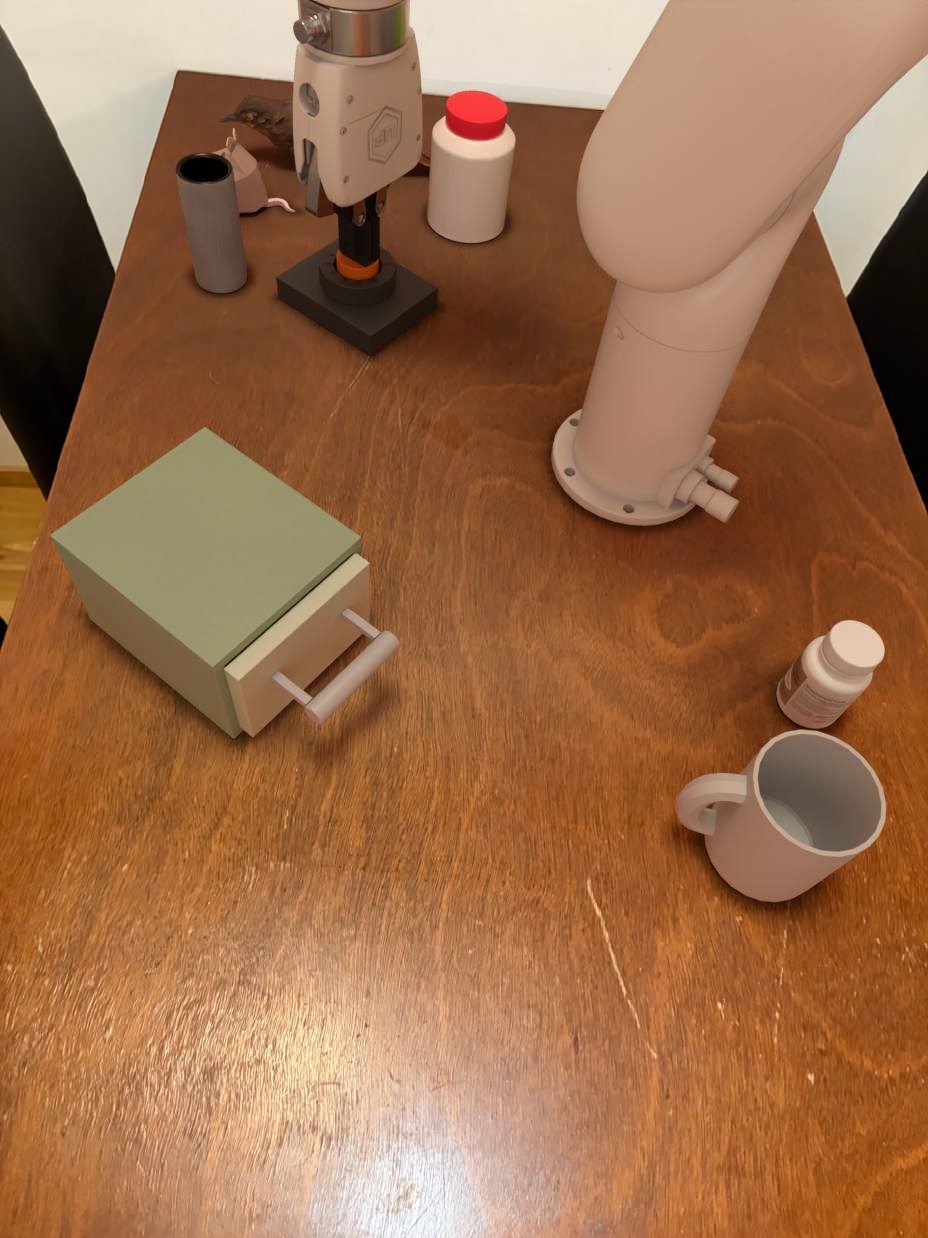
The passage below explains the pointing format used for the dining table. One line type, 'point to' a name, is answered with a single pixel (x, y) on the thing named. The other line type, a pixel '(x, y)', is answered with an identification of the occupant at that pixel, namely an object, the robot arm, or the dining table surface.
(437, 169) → the pill bottle
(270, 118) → the bird sculpture
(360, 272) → the button
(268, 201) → the mouse figurine
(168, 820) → the dining table surface
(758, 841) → the cup
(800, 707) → the pill bottle
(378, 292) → the control box
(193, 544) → the cabinet
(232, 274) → the gray hollow cylinder
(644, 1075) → the dining table surface
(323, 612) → the drawer
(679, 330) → the robot arm
